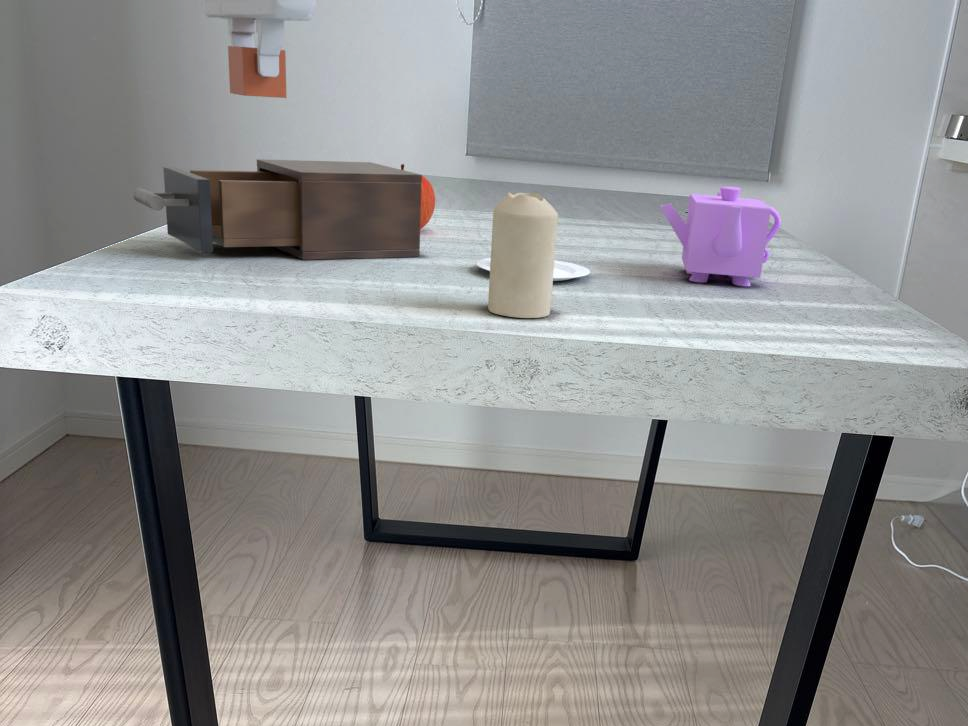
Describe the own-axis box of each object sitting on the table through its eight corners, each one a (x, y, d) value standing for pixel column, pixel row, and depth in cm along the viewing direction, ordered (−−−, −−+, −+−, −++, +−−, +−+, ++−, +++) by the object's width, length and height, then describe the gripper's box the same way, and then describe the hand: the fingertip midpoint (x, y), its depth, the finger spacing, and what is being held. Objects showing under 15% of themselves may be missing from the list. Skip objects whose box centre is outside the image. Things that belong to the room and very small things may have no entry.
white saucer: (467, 262, 115) (469, 221, 113) (573, 266, 118) (577, 226, 116) (486, 283, 105) (488, 238, 103) (602, 287, 107) (606, 243, 106)
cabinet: (302, 259, 109) (301, 172, 105) (259, 240, 118) (256, 159, 115) (419, 256, 116) (422, 174, 113) (370, 238, 125) (370, 162, 122)
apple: (431, 237, 130) (433, 169, 127) (366, 232, 130) (366, 163, 127) (437, 228, 137) (439, 164, 134) (374, 224, 137) (375, 159, 134)
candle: (545, 321, 90) (554, 199, 86) (482, 314, 91) (488, 193, 87) (554, 309, 95) (563, 193, 91) (494, 303, 96) (501, 187, 92)
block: (244, 95, 95) (242, 46, 94) (229, 93, 98) (227, 45, 97) (286, 98, 97) (285, 50, 96) (271, 95, 100) (270, 49, 99)
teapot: (650, 260, 126) (660, 174, 122) (760, 270, 125) (774, 184, 122) (655, 287, 109) (667, 188, 105) (782, 298, 109) (799, 200, 105)
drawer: (160, 253, 101) (155, 178, 99) (129, 234, 110) (123, 165, 107) (321, 249, 110) (320, 181, 107) (280, 232, 119) (279, 169, 116)
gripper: (179, -95, 98) (189, 68, 103) (254, -116, 82) (261, 78, 88) (246, -85, 101) (252, 72, 106) (331, -103, 86) (332, 82, 91)
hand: (256, 75), depth 97 cm, fingers closed on block, 4 cm apart
